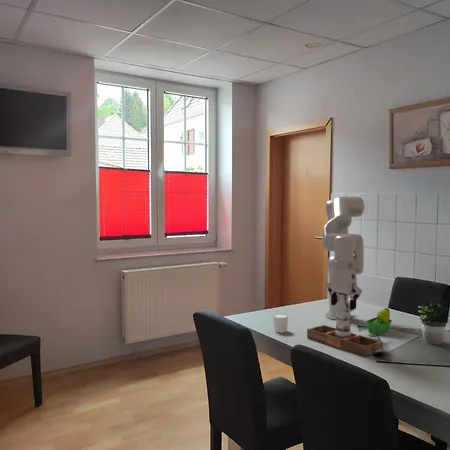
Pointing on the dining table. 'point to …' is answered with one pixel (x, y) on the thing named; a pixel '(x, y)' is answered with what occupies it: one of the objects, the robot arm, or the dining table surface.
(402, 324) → the dining table surface
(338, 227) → the robot arm
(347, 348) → the wooden compartment tray
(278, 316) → the white cup
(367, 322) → the fruit basket
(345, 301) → the plastic bottle
